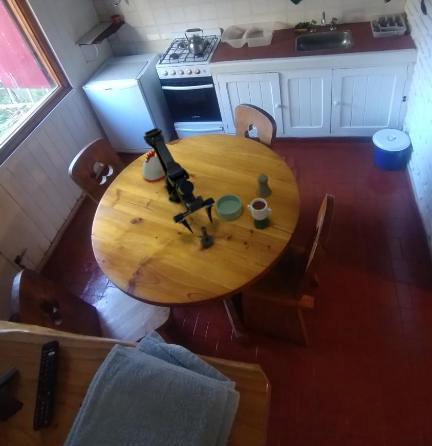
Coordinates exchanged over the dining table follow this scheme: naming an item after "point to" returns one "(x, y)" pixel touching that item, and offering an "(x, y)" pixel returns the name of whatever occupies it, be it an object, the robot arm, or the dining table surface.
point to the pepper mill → (263, 185)
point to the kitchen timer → (152, 168)
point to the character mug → (259, 212)
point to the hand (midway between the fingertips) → (202, 228)
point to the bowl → (229, 207)
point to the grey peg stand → (206, 238)
